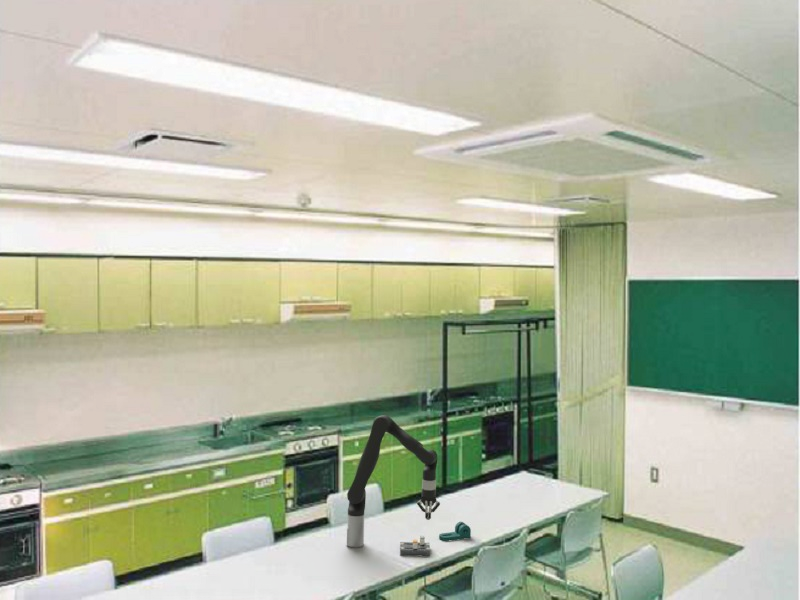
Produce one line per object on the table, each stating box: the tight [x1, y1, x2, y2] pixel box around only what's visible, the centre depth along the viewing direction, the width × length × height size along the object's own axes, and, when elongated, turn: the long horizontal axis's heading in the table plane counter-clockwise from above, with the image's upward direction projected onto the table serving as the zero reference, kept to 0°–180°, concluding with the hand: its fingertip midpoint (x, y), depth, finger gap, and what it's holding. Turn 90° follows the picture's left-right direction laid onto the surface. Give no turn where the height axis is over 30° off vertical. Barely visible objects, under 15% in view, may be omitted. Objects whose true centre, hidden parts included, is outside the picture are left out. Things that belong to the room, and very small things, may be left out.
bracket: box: [438, 521, 472, 542], centre depth 398 cm, size 18×7×8 cm, turn 111°
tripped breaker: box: [412, 539, 419, 549], centre depth 373 cm, size 2×3×4 cm
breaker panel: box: [399, 541, 431, 557], centre depth 376 cm, size 16×11×3 cm
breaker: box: [419, 535, 426, 545], centre depth 379 cm, size 2×3×4 cm
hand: (428, 519), depth 372 cm, fingers closed
